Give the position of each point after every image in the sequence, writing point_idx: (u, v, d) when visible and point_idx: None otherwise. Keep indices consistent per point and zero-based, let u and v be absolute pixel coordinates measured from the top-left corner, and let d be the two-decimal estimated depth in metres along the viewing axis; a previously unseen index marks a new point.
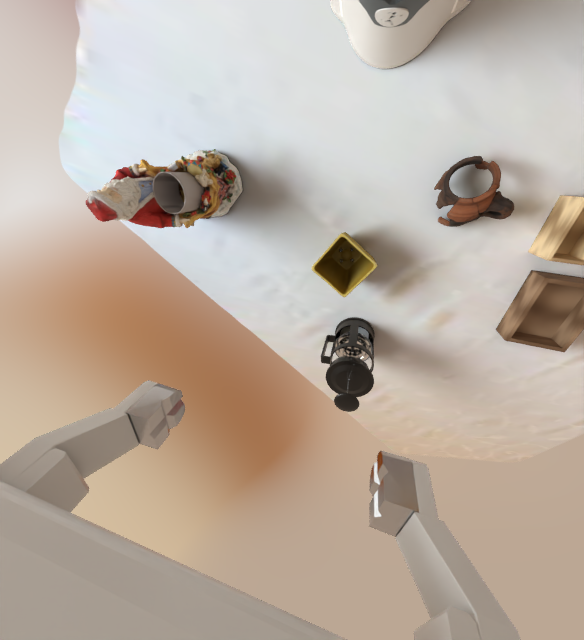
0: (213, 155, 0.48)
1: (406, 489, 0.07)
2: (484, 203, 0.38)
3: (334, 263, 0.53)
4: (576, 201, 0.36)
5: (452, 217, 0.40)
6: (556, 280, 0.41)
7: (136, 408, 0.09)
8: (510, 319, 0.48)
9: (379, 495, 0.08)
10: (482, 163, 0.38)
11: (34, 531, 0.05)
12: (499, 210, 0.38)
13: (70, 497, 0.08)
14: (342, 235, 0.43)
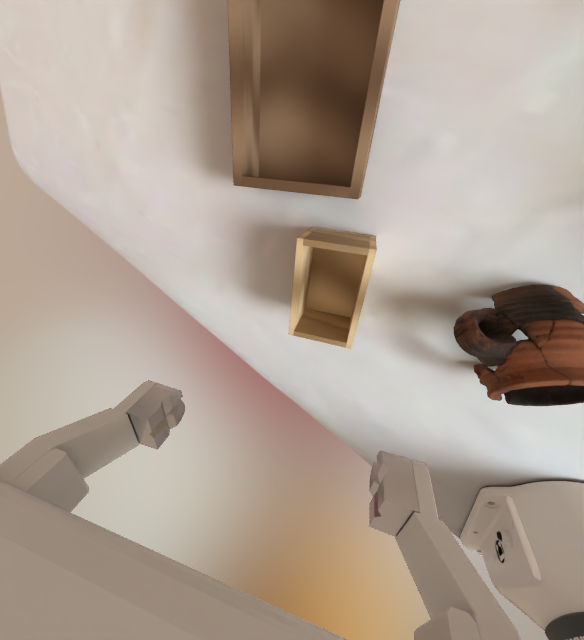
0: None
1: (406, 489, 0.07)
2: (528, 362, 0.18)
3: None
4: None
5: None
6: (334, 194, 0.18)
7: (137, 408, 0.09)
8: (393, 27, 0.15)
9: (379, 495, 0.08)
10: None
11: (34, 531, 0.05)
12: (495, 346, 0.18)
13: (70, 497, 0.08)
14: None
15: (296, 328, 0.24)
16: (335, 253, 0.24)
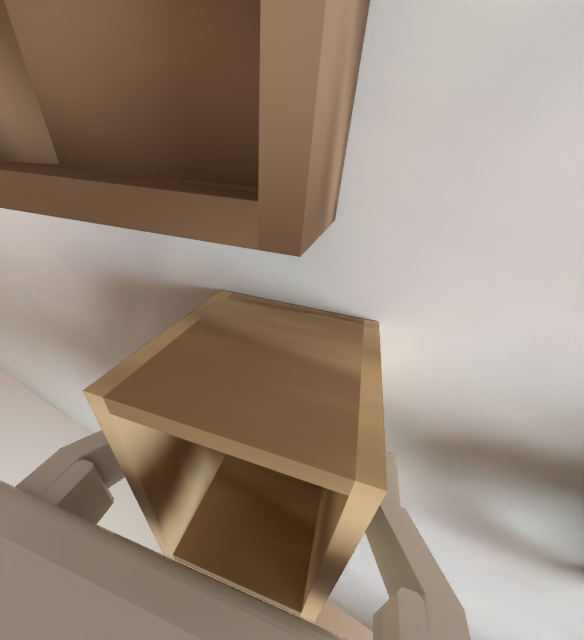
0: None
1: None
2: None
3: None
4: None
5: None
6: (199, 230, 0.04)
7: None
8: None
9: None
10: None
11: (34, 531, 0.05)
12: None
13: (96, 509, 0.07)
14: None
15: (184, 539, 0.10)
16: None
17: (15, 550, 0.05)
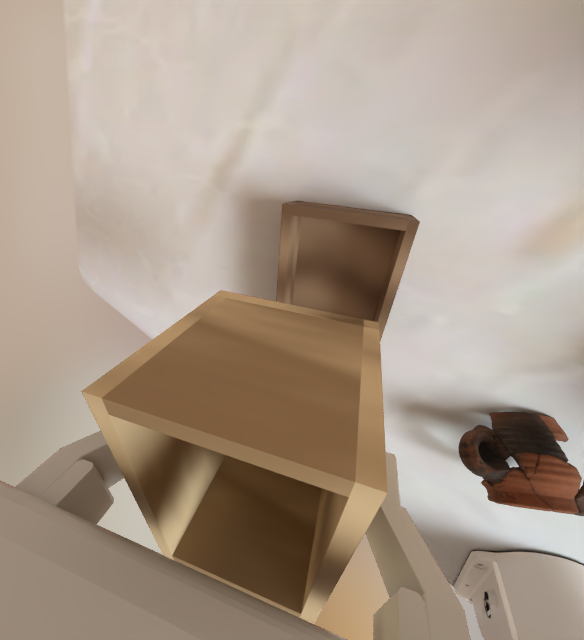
0: None
1: None
2: (519, 487, 0.23)
3: None
4: None
5: (572, 473, 0.22)
6: None
7: None
8: None
9: None
10: None
11: (34, 531, 0.05)
12: (492, 473, 0.23)
13: (96, 509, 0.07)
14: None
15: (183, 540, 0.10)
16: None
17: (15, 550, 0.05)
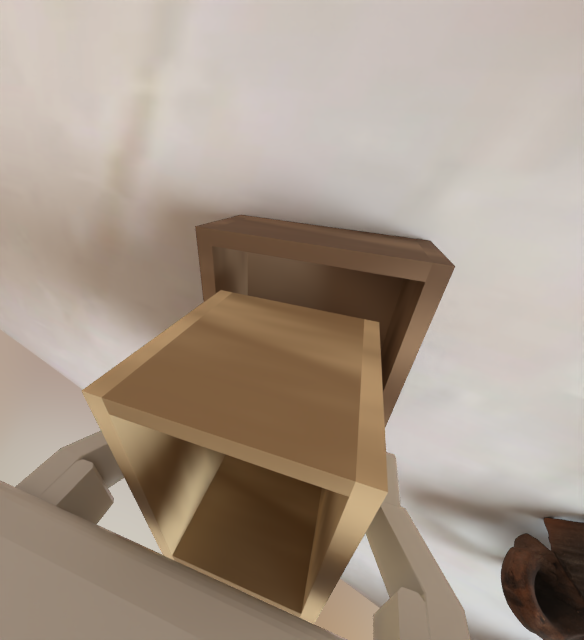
0: None
1: None
2: None
3: None
4: None
5: None
6: None
7: None
8: None
9: None
10: None
11: (34, 531, 0.05)
12: None
13: (96, 509, 0.07)
14: None
15: (183, 539, 0.10)
16: None
17: (15, 550, 0.05)
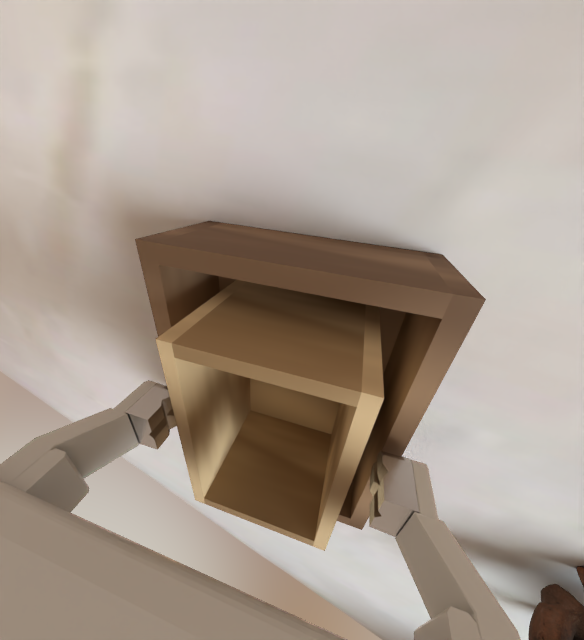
0: None
1: (406, 489, 0.07)
2: None
3: None
4: None
5: None
6: None
7: (137, 409, 0.09)
8: None
9: (379, 495, 0.08)
10: None
11: (34, 531, 0.05)
12: None
13: (70, 497, 0.08)
14: None
15: (212, 487, 0.11)
16: None
17: (15, 550, 0.05)
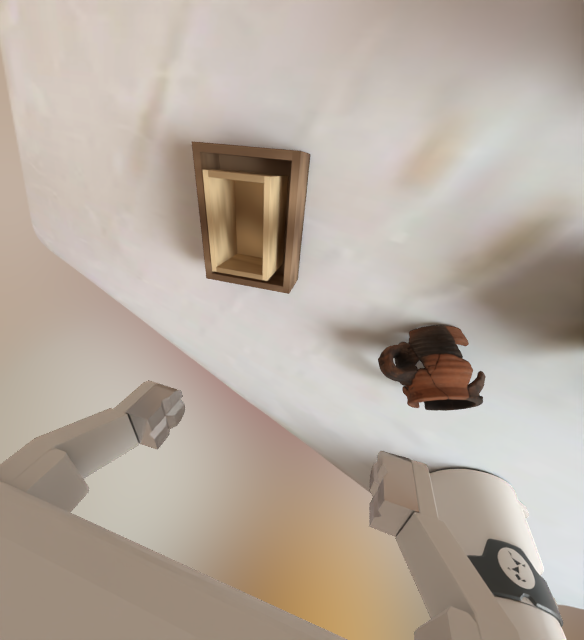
0: None
1: (406, 489, 0.07)
2: (424, 383, 0.26)
3: None
4: (271, 270, 0.25)
5: (464, 365, 0.25)
6: (273, 289, 0.27)
7: (137, 408, 0.09)
8: (301, 199, 0.24)
9: (379, 495, 0.08)
10: None
11: (34, 531, 0.05)
12: (402, 374, 0.27)
13: (70, 497, 0.08)
14: None
15: (219, 265, 0.26)
16: (254, 195, 0.26)
17: (15, 550, 0.05)
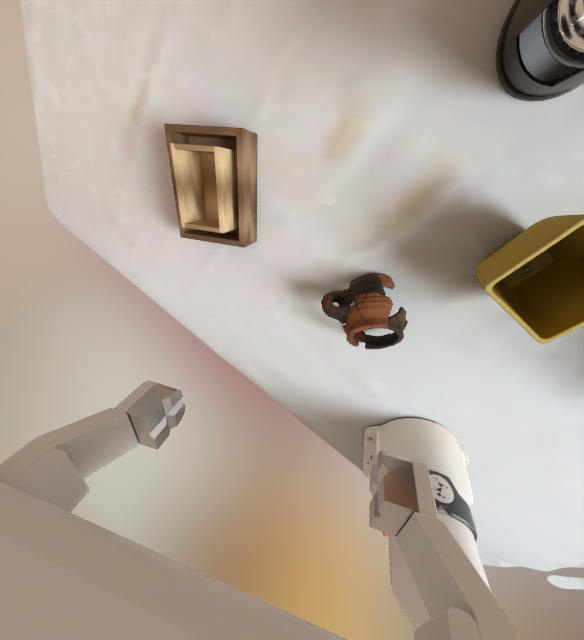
0: None
1: (406, 489, 0.07)
2: (355, 318, 0.32)
3: (552, 249, 0.27)
4: (228, 226, 0.32)
5: (385, 300, 0.31)
6: (232, 244, 0.34)
7: (136, 409, 0.09)
8: (249, 168, 0.30)
9: (379, 495, 0.08)
10: (362, 341, 0.36)
11: (34, 531, 0.05)
12: (337, 310, 0.32)
13: (70, 497, 0.08)
14: (543, 341, 0.24)
15: (188, 223, 0.32)
16: None
17: (15, 550, 0.05)
